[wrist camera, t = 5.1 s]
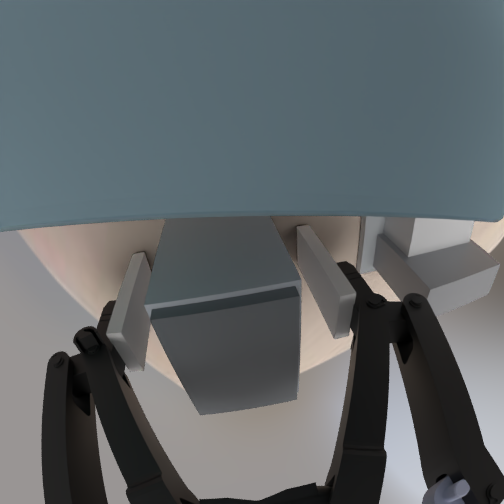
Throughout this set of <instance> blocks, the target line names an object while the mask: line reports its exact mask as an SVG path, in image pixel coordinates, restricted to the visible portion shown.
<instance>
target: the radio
mask: <svg viewBox="0 0 504 504" xmlns="http://www.w3.org/2000/svg"><path fill="white" fill-rule="evenodd" d="M236 216H373V217H407V218H431V219H451V220H468V221H483V222H498V221H499V220H501V219H502V218H503V216H504V0H0V232H3V231H12V230H22V229H31V228H42V227H52V226H64V225H76V224H89V223H103V222H118V221H135V220H153V219H175V218H201V217H236Z"/></svg>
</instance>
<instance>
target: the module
mask: <svg viewBox="0 0 504 504" xmlns="http://www.w3.org/2000/svg"><path fill="white" fill-rule="evenodd" d="M144 306H145V309H146V311H147V313H148V315H149V318H150V321H151V324H152V326H153V328H154V330H155V332H156V334H157V336H158V338H159V341H160V343H161V345H162V347H163V349H164V351H165V353H166V355H167V357H168V359H169V361H170V362H171V364H172V366H173V368H174V370H175V372H176V374H177V376H178V378H179V379H180V381H181V383H182V385H183V387H184V388H185V390H186V392H187V394H188V395H189V397H190V399H191V401H192V402H193V404H194V406H195V407H196V409H197V411H198V412H199V414H200V415H206V414H216V413H224V412H231V411H238V410H244V409H251V408H257V407H262V406H267V405H273V404H278V403H283V402H288V401H292V400H296V399H297V392H298V389H299V369H300V341H301V278H300V276H299V274H298V271H297V269H296V267H295V265H294V263H293V261H292V259H291V257H290V255H289V253H288V251H287V249H286V247H285V245H284V243H283V241H282V239H281V237H280V235H279V233H278V231H277V229H276V227H275V225H274V223H273V221H272V219H271V217H270V216H236V217H201V218H175V219H166V220H165V224H164V227H163V231H162V234H161V238H160V242H159V245H158V249H157V253H156V257H155V261H154V264H153V268H152V273H151V277H150V281H149V285H148V290H147V294H146V298H145V303H144Z"/></svg>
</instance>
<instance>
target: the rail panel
mask: <svg viewBox="0 0 504 504" xmlns="http://www.w3.org/2000/svg"><path fill="white" fill-rule="evenodd" d="M474 222H475V221H468V220H451V219H431V218H407V217H373V216H362V218H361V230H360V240H359V250H358V259H357V267H356V270H357V271H358V272H359V274H363V273H367V272H372V271H376V269H375V268H374V267H373V261H374V254H375V247H376V240H377V234H382V233H384V234H385V235H386V236H387V237H388V238H389V239H390V240H391V241H392V242H393V243H394V244H395V245H396V246H397V247H398V248H399V249H400V250H401V251H402V252H403V253H404V254H405V255H406V256H407V257H410V256H415V255H419V254H423V253H427V252H432V251H436V250H440V249H444V248H448V247H452V246H456V245H460V244H464V243H468V242H469V241H470V237H471V234H472V230H473V226H474Z"/></svg>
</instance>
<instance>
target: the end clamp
mask: <svg viewBox="0 0 504 504" xmlns="http://www.w3.org/2000/svg"><path fill="white" fill-rule="evenodd" d="M499 266H500V263H498V261H496V260H495V259H494V258H493V257H492V256H491V255H489V254H488V253H487V252H486V251H485V250H484V249H482V248H481V247H480V246H479V245H477V244H476V243H475V242H474V241H472V240H471V239H470V241H469V242H468V243H464V244H460V245H456V246H452V247H448V248H444V249H440V250H436V251H432V252H427V253H423V254H419V255H415V256H410V257H407V256H406V255H405V254H404V253H403V252H402V251H401V250H400V249H399V248H398V247H397V246H396V245H395V244H394V243H393V242H392V241H391V240H390V239H389V238H388V237H387V236H386V235H385V234H384V233H382V234H377V240H376V247H375V254H374V261H373V267H374V268H375V269H376V270H377V271H378V273H379V274H380V275H381V276H382V278H383V279H384V280H385V281H386V282H387V284H388V285H389V286H390V288H391V289H392V290H393V291H394V293H395V294H396V295H397V296H398V298H399V299H400V300H401V302H403V299H404V296H406V295H407V294H409V293H418V294H421V295H422V296H424V297H425V298H426V299H427V300H428V302H429V304H430V306H431V308H432V310H433V312H434V314H435V316H436V317H437V316H439V315H442V314H444V313H447V312H449V311H451V310H454V309H456V308H459V307H461V306H463V305H465V304H468V303H470V302H472V301H474V300H476V299H479V298H480V297H483V296H485V295H487V294H488V293H489V291H490V289H491V286H492V284H493V282H494V279H495V277H496V274H497V271H498V269H499Z"/></svg>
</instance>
